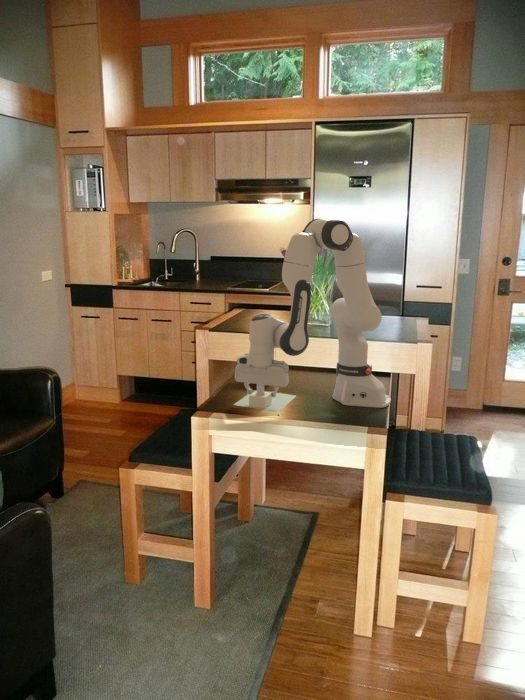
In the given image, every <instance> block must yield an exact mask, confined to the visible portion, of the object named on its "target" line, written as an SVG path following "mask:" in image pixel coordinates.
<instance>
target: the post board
mask: <svg viewBox="0 0 525 700" xmlns="http://www.w3.org/2000/svg"><path fill="white" fill-rule="evenodd" d="M265 387H266V386H265V385H261V384H257V385H256V389H254V390H253V389H252V390H253V391H252V393H253V392H255V391H257V395H260V396H264V392H267V391H265ZM268 392H269V393H271V392H272V391H268ZM249 395H251V394H246V395H244V396H243V397H242V398H240V399H239V400H238V401H236V402H235V403H234V404H233V406H237V407H242V408H243V407H244V408H245V407H246V408H252V409H257V410H265V411H270V412H276V413H280V412H281V411H282V410H283V409H284V408H285V407H286V406H288V404H290V403H291V402H292V401H293V400H294V399H295V398H296V397H297V395H293V394H288V393H281V392H279V393H278V392H276V397H272V403H271V404H270V405H269V406H268V407H266V408H259V407H253V406H249ZM277 415H278V416H280V414H277ZM278 416H277V417H278Z"/></svg>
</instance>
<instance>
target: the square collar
mask: <svg viewBox="0 0 525 700" xmlns="http://www.w3.org/2000/svg"><path fill="white" fill-rule="evenodd" d="M269 392H270V391H266V392H264V396H260V395H257V391H255V392H253V393H252V394H251V395H249V406H253V407H259V408H266V407H268V406H269V405H270V404H271V403H272V397H271V393H269Z"/></svg>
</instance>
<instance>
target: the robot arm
mask: <svg viewBox="0 0 525 700" xmlns="http://www.w3.org/2000/svg"><path fill="white" fill-rule="evenodd" d="M288 242H289V243H288V246H287V248H286V251H285V254H284V259H283V263H282V270H281V280H282V282H283V284H284V286H285V287H286V289H287V290H288V292H289V295H290V297H291V307H290V313H289V322H287V321H283V320H280V319H278V318H276V317H274V316H273V315H272V314H271V315H270V313H260V314H256V315H255V316H253V317H252V318H251V320H250V322H249V333H248V334H249V337H248V340H249V344H250V346H249V352H248V353H244V354H242V355H240V356H238V357H237V358H236V363H237V364H235V367H234V368H235V369H234V380H235V381H236V382H239V383H243V385H244V387H245V390H246V395H248V394H252V391H253V388H251V386H250V384H255V385H256V384H261V385H268V386H270V387H273V389H274V390H273V391H270V392H271V397H276V393H278V391H279V389H280V387H281V388H285V387H287V385H289V383H290V379H289V370H290V367H289V364H288V363H287V362H286V361H284V360H276V359H275V360H274V348H275V349H276V348H279V349H280V350H282V351H283V352H284V353H285V354H286V355H288V356H290V357H291V356H292V357H297V356H299V355H302V354H303V353H304V352H305V350H306V349H307V348H308V345H309V342H310V339H309V337H310V336H309V333H308V321H309V315H310V306H311V298H312V281H313V276H314V275H313V274H314V269H315V265H316V259H317V256H318V254H319V253H320V251H321V250H327V251H328V250H331V251H332V253H333V257H334V266H335V276H336V285H337V288H338V289H339V291H340V293H341V294H342V297H339V298H337V299H336V300H334V301H333V302H332V304H331V306H330V315H331V317H332V319H333V322H334V325H335V328H336V333H337V339H338V361H337V363H336V370H335V371H336V372H335V374H336V381H335V385H334V391H333V393H332V395H331V397H332V399H334V400H335V401H337V402H339V403H340V404H341V405H344V406H351V407H353V406H354V407H364V408H365V407H366V408H379V409H381V408H386V407H388V406H389V405H390V404H391V401H392V398H391V397H390V395H389V394H386V388H385V385H384V383H383V382H382V381H381V380H379V379H378V378H377V377H376V376H375V375H373V365H370V364H368V353H369V352H368V351H369V350H368V348H369V344H368V341H367V340H366V338H365V335H364V334H365V333H364V332H374V331H375V330H377V329H378V328H379V326H380V325H381V323H382V320H383V317H382V315H383V314H382V312H381V310H380V309H379V307H378V306H377V305H376V303H375V301H374V298H373V296H372V293H371V289H370V287H369V282H368V277H367V268H366V265H367V264H366V258H365V257H366V256H365V251H364V247H363V243H362V240H361V237H360V236H359V235H358V234H356V233H353V232H352V231H351V228H350V226H349V224H348V223H347V222H346V221H345V220H343V219H340V218H338V217H337V218H333V217H323V218H315V219H312V220H310V221H309V222H308V223H307V224H306V225H305V227H304V228H303V230H302V231H301V232H297V233H295V234H293V235H292V237H291V238H290V240H289V241H288Z"/></svg>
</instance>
